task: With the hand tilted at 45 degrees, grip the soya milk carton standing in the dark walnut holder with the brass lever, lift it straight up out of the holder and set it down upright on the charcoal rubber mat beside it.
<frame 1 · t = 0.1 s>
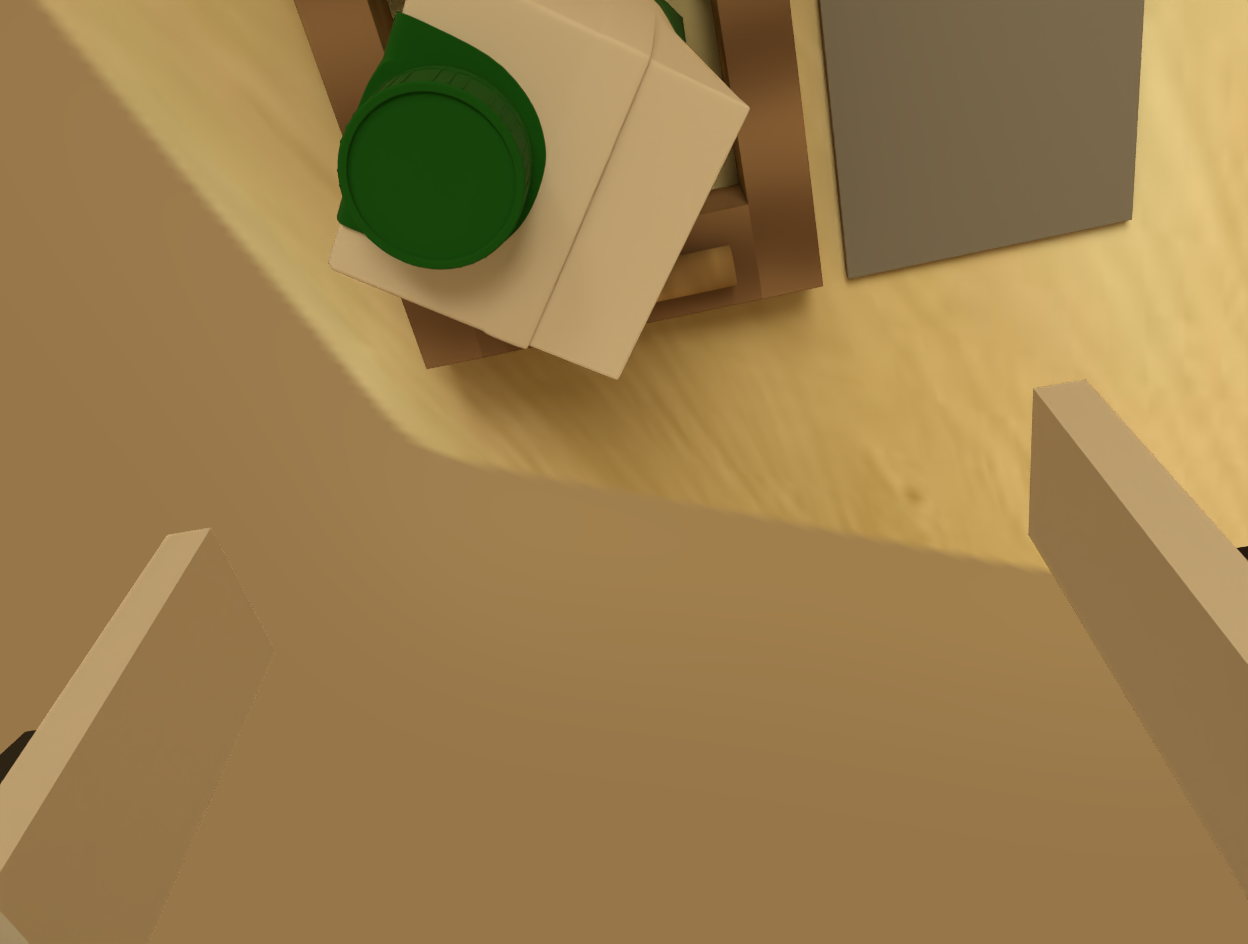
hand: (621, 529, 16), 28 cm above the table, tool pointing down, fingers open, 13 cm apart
walnut holder: (564, 67, 38), on the table
soya milk: (565, 66, 38), resting in walnut holder
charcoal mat: (981, 78, 38), on the table
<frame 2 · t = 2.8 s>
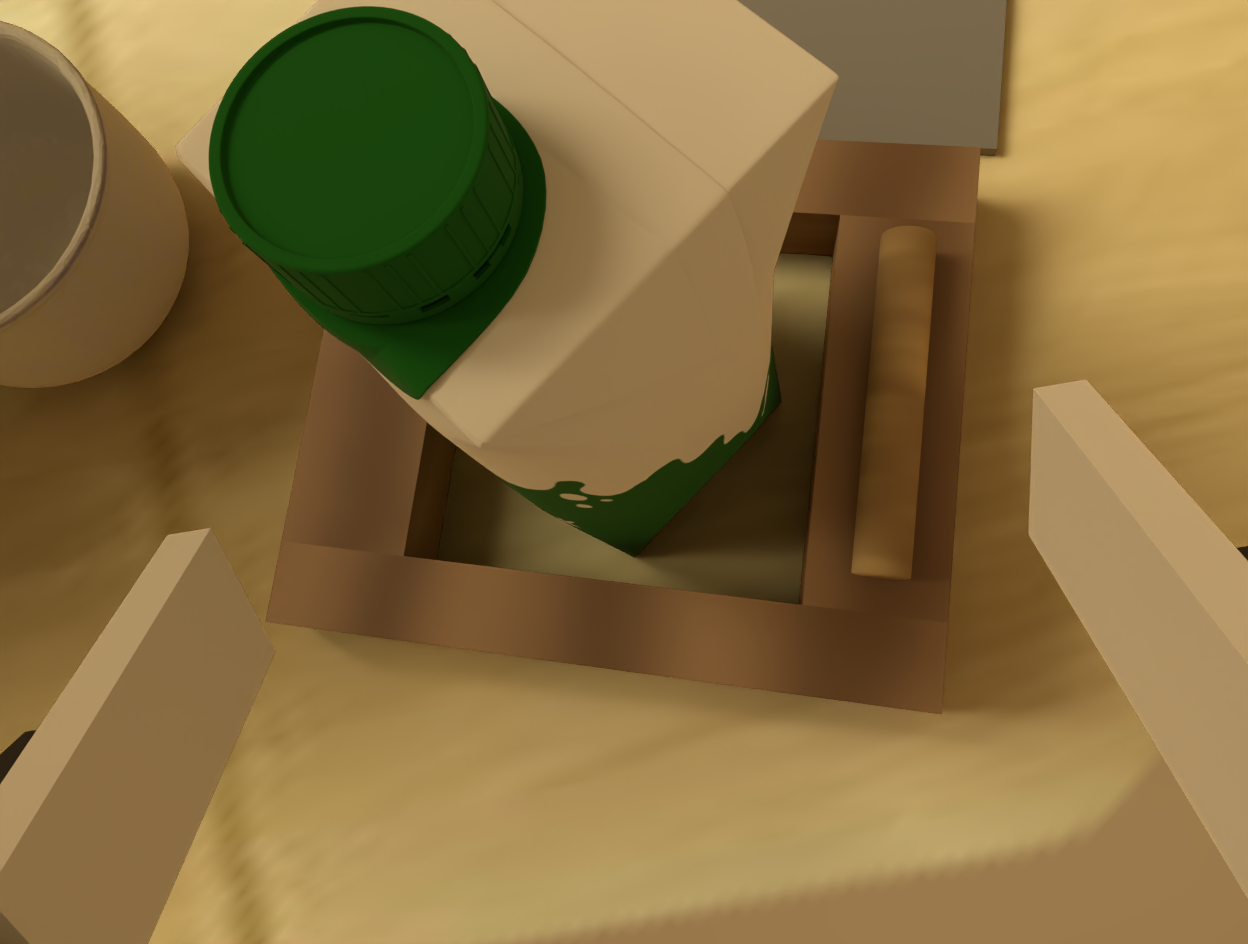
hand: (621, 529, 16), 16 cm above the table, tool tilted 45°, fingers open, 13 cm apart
walnut holder: (635, 410, 32), on the table
soya milk: (635, 412, 33), resting in walnut holder
teacup: (69, 307, 37), on the table
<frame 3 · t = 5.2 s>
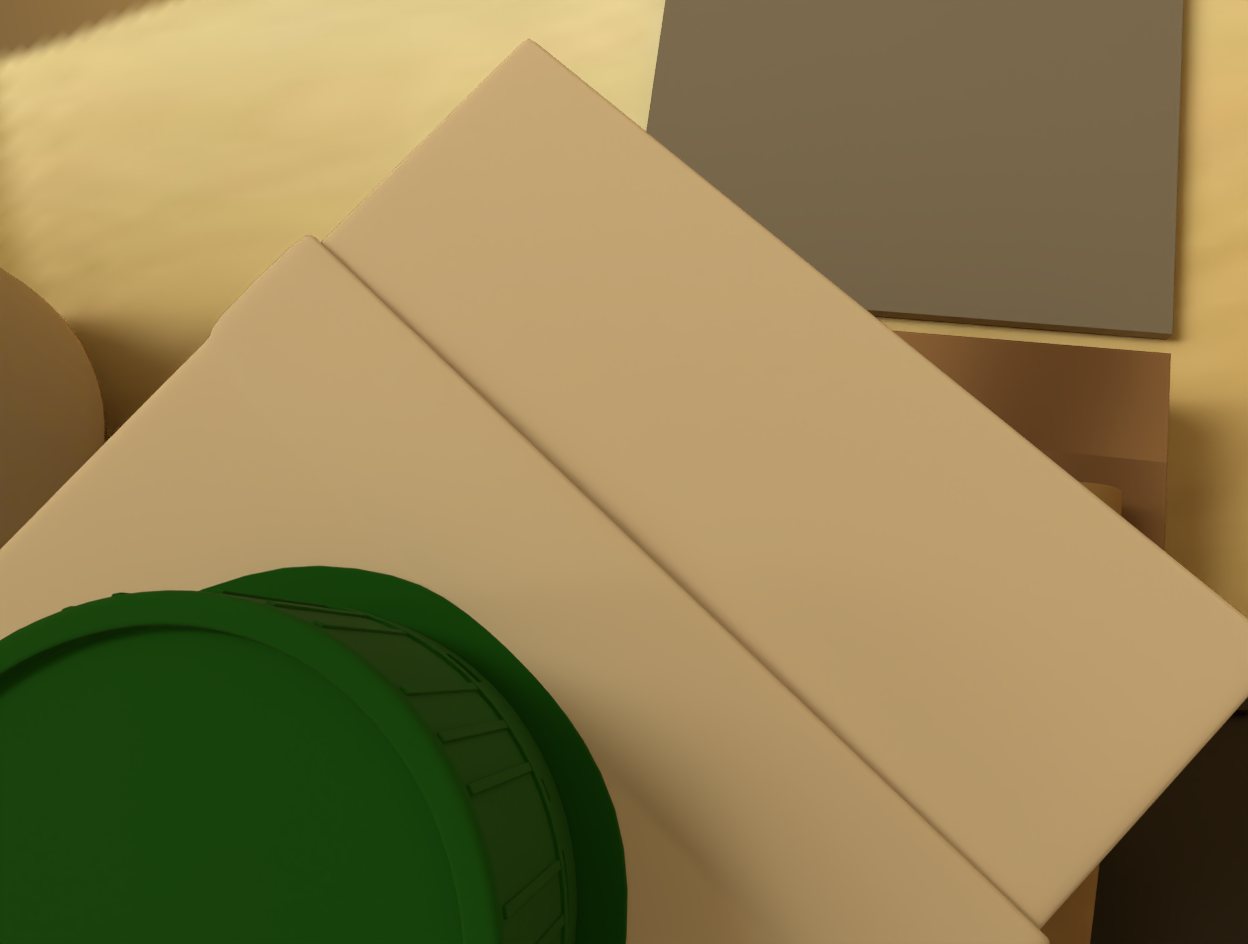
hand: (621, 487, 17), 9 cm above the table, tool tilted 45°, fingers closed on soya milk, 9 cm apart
walnut holder: (687, 676, 24), on the table
soya milk: (687, 676, 25), resting in walnut holder, touching gripper
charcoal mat: (902, 112, 27), on the table
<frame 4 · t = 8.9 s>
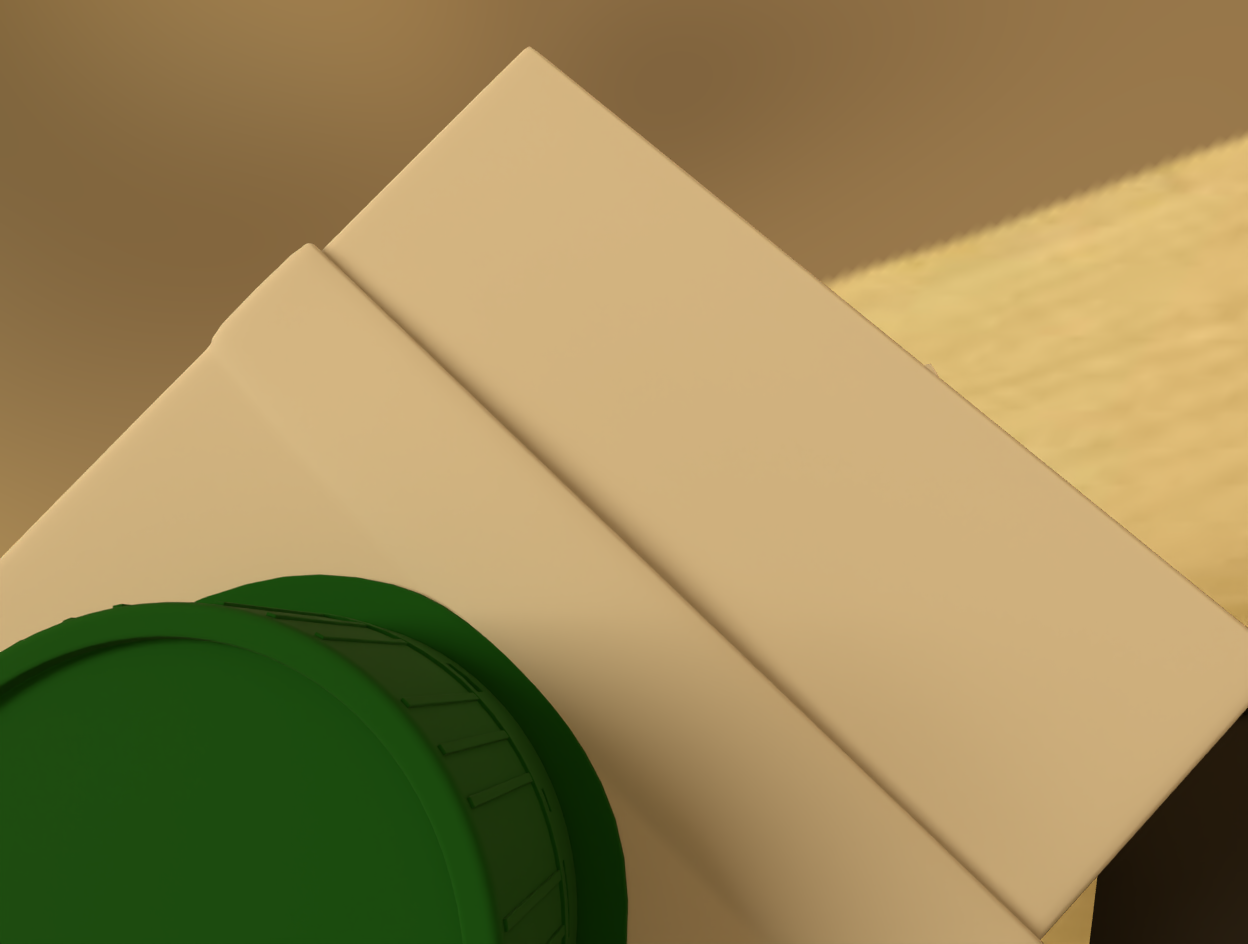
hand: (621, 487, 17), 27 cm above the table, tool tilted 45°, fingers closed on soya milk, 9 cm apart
soya milk: (687, 679, 25), point 18 cm above the table, touching gripper
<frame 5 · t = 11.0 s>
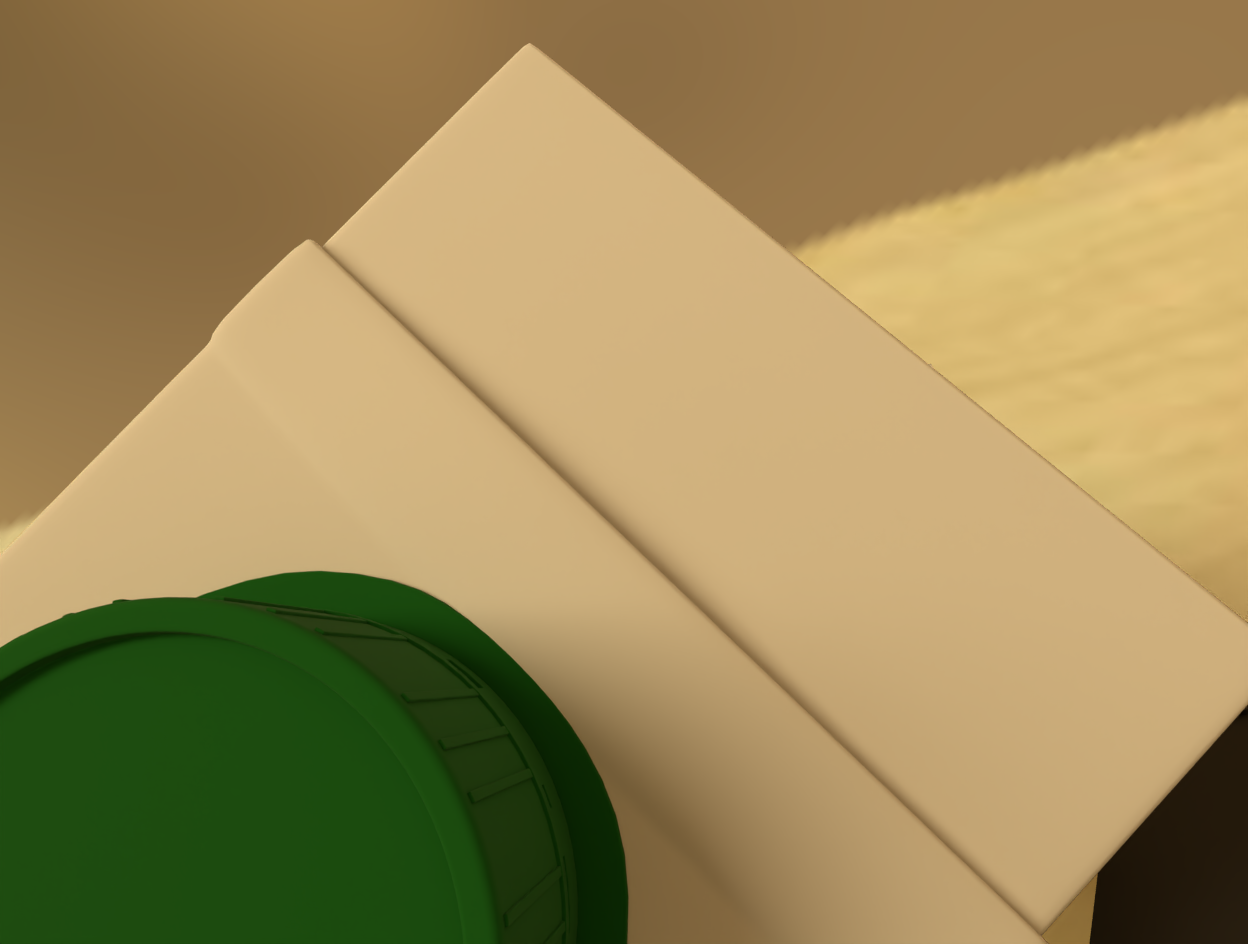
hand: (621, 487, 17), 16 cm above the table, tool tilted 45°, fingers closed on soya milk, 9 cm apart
soya milk: (688, 678, 25), point 7 cm above the table, touching gripper
when the fingers open (11 cm above the table, at t = 12.7 s): soya milk drops 1 cm, resting on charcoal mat.
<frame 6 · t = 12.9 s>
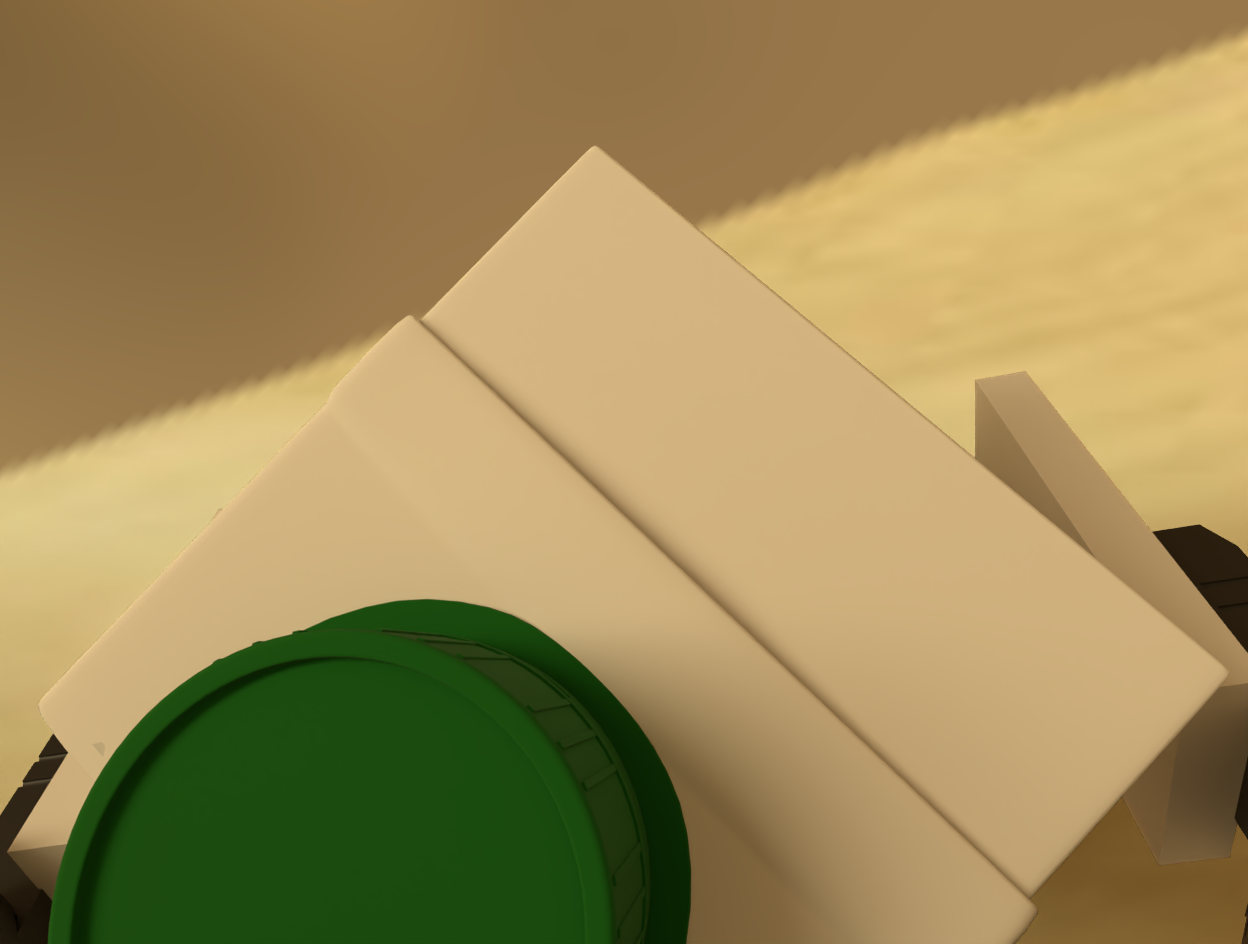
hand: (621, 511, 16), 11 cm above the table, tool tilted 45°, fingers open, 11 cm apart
soya milk: (704, 678, 26), resting on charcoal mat
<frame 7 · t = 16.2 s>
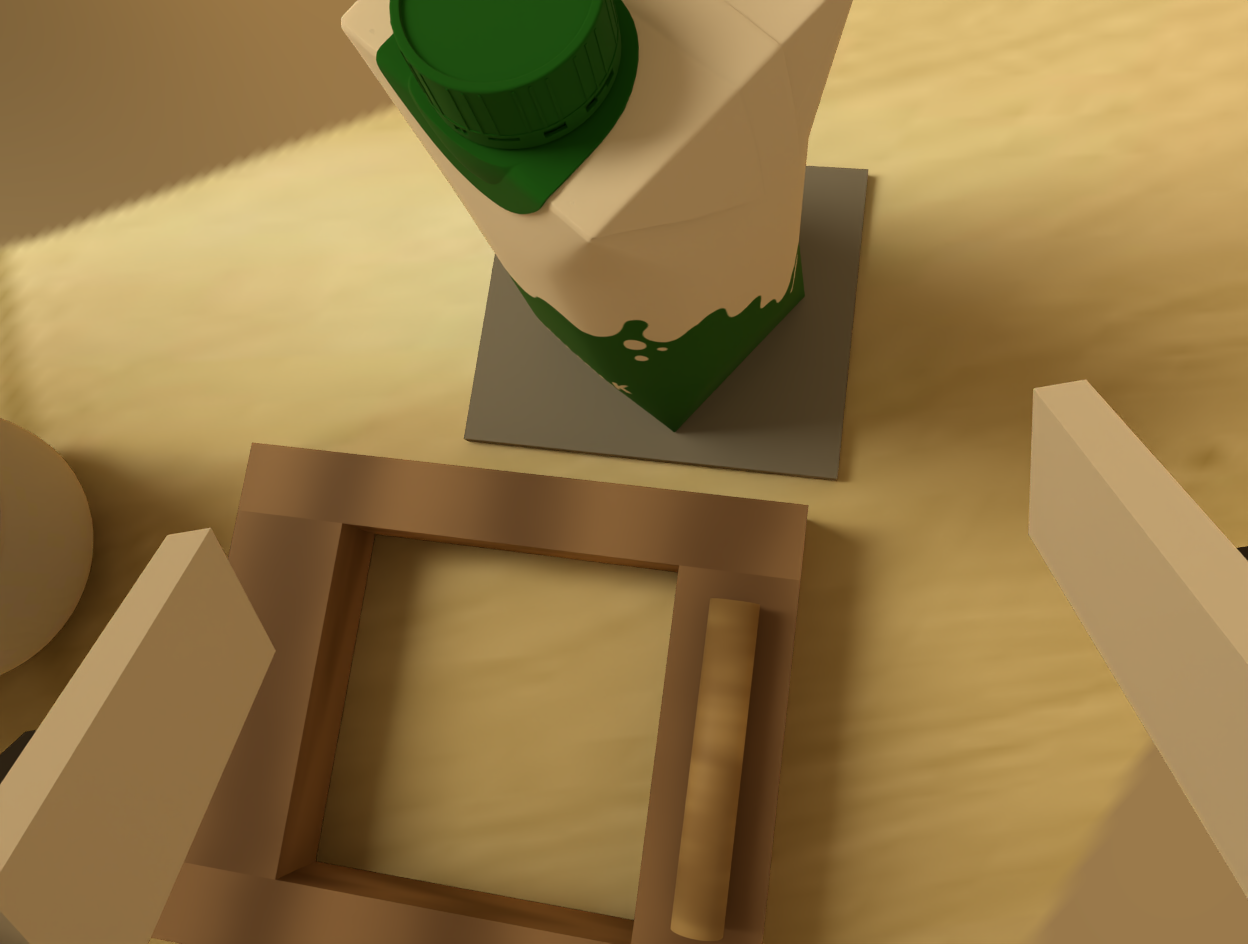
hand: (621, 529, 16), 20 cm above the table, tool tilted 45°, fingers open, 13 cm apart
walnut holder: (501, 716, 35), on the table
soya milk: (675, 307, 37), resting on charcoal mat
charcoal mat: (666, 307, 37), on the table
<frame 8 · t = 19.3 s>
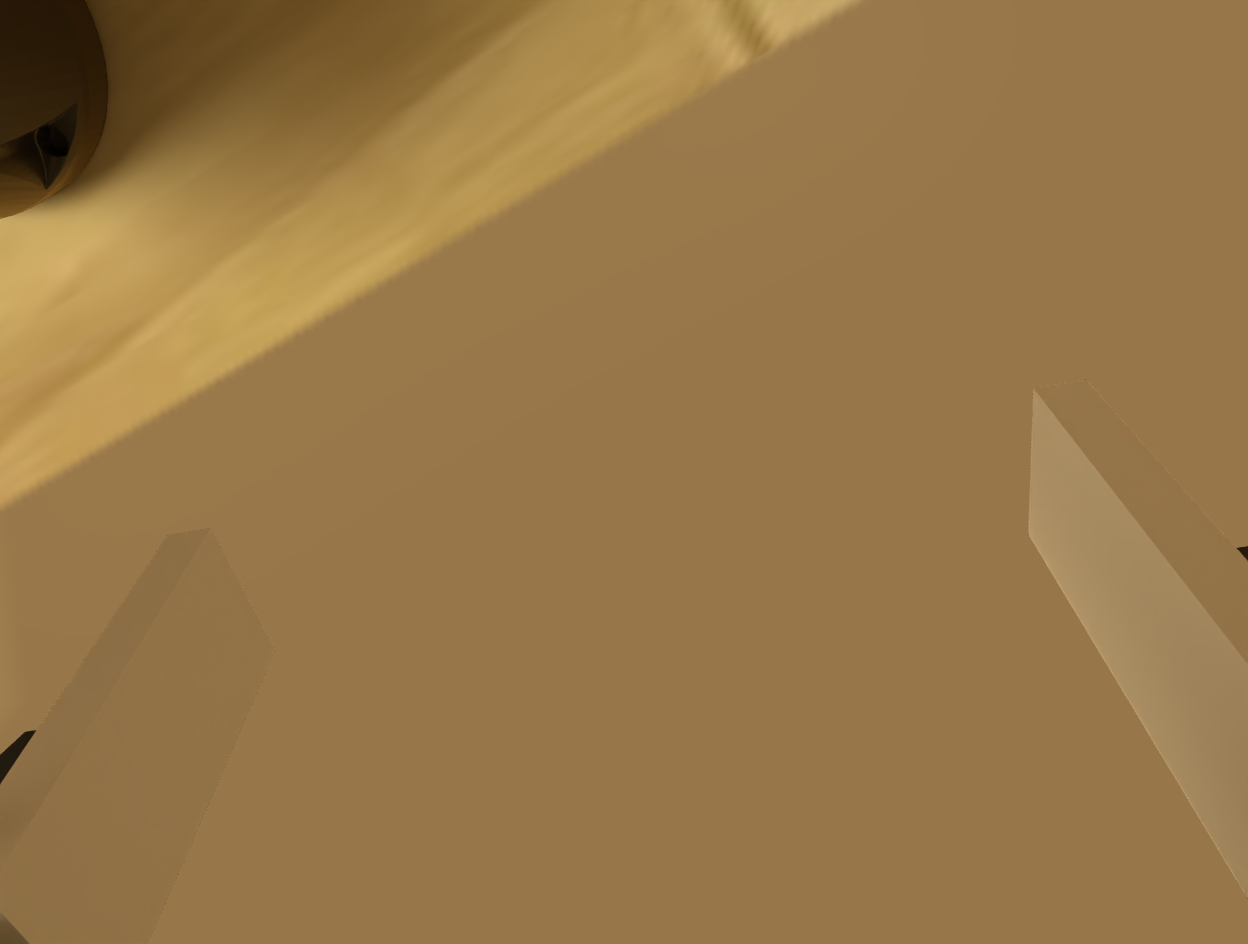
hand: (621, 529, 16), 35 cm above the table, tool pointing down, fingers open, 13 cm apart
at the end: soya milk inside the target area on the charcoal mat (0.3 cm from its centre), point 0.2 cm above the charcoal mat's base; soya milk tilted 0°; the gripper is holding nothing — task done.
